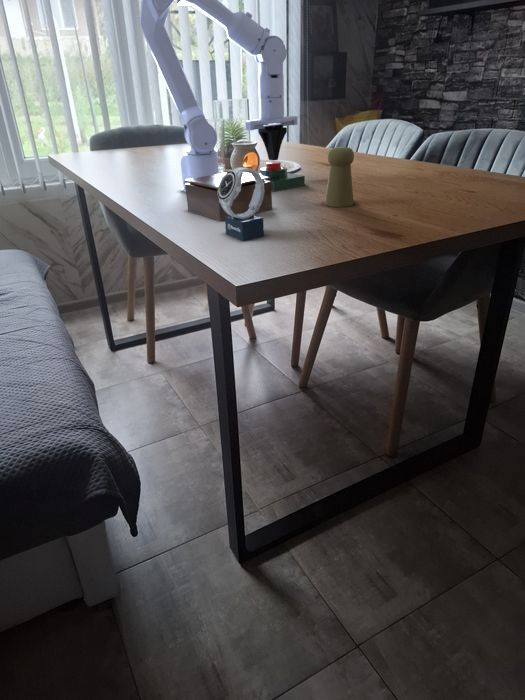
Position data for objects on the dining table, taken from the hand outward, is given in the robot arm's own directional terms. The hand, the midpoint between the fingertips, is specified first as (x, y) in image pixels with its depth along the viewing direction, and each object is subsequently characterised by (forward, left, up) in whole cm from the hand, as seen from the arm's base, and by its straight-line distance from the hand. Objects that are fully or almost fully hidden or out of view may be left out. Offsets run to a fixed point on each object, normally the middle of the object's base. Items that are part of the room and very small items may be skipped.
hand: (273, 159), depth 119 cm
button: (0, 0, -2) cm, 2 cm away
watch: (+30, -32, -6) cm, 44 cm away
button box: (0, 0, -6) cm, 6 cm away
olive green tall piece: (+26, -4, -6) cm, 27 cm away
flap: (+13, -20, 0) cm, 24 cm away
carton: (+13, -23, -6) cm, 27 cm away
